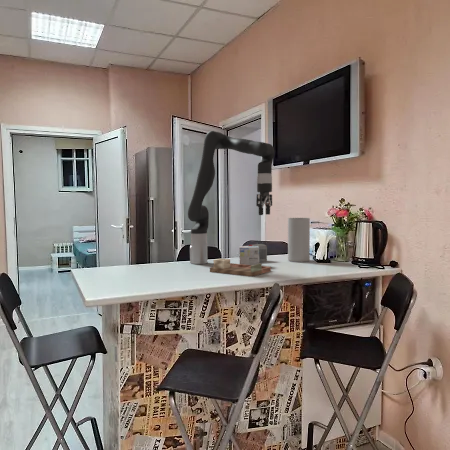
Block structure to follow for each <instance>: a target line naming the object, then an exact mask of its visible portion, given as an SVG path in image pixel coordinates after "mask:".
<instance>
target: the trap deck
mask: <svg viewBox="0 0 450 450" xmlns="http://www.w3.org/2000/svg"><path fill="white" fill-rule="evenodd" d="M271 271H272V267H271V266H265V265H263V264H262V263H260V262H259V264H256V265H244V264H240V263H233V262H232V263H231V262H230V267H229V268H225V269H221V268H214V266H212V267H209V273H217V274H227V275H233V276H234V275H236V276H243V277H244V276H246V277H256V276H260V275H261V274H262V273H263V274H266V273H269V272H271Z"/></svg>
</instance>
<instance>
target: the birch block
mask: <svg viewBox="0 0 450 450" xmlns="http://www.w3.org/2000/svg"><path fill="white" fill-rule="evenodd" d="M230 263H231V259H230V258H215V259H213V267H214V268H221V269H225V268H229V267H230Z"/></svg>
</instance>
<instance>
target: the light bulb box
mask: <svg viewBox="0 0 450 450" xmlns="http://www.w3.org/2000/svg"><path fill="white" fill-rule="evenodd" d="M238 253H239V254H238V255H239V264H244V265H256V264H259V263H260V262H259V246H249V245H240V246H239V252H238Z"/></svg>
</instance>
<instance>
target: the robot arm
mask: <svg viewBox="0 0 450 450" xmlns="http://www.w3.org/2000/svg"><path fill="white" fill-rule="evenodd" d="M216 150H233V151H236V152H239V153H242V154H248V155H252V156H253V155H254V156H257V157H261V160H260V162H258V164H257V176H256V177H257V178H256V189H257V191H256V192H257V194H256V199H255V200H256V203H255V205H256V207H257V208H258V215H259V216H264V206H265V215H271V207H272V206H273V194H272V192H273V174H272V173H273V171H272V165H273V161H274V157H275V148H274V146H273V145H272V144H270V143H268V142H267V143H266V142H264V141H263V142H262V141H257V140H256V141H255V140H250V139H245V138H236V137H233V136H232V137H231V136H228V135H226V134H224V133H222V132H219V131H215V130H210V131H208V132H207V133H206V134H205V137H204V141H203V148H202V155H201V160H200V165H199V169H198V173H197V177H196V182H195V187H194V190H193V194H192V197H191V200H190V204H189V207H188V210H187V217H188V219H189V221H191V222H193V223H195V224H194V226H193V227H192V228H191V229H190V242H191V243H190V246H189V263H190V264H193V265H203V264H204V265H205V264H208V229H209V220H210V219H209V217H210V216H209V215H210V214H209V209H208V207H207V206H206V205H204V204H203V202H204V199H205V197H206V195H207V194H208V193H209V191H210V190H211V188H212V187H213V184H214V180H215V175H216V169H215V164H214V163H215V162H214V157H215V151H216ZM270 193H271V194H270Z"/></svg>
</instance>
